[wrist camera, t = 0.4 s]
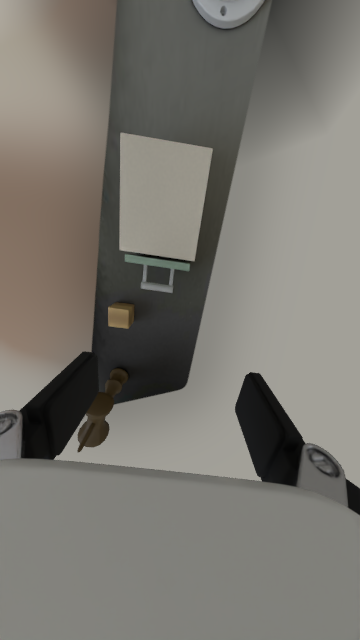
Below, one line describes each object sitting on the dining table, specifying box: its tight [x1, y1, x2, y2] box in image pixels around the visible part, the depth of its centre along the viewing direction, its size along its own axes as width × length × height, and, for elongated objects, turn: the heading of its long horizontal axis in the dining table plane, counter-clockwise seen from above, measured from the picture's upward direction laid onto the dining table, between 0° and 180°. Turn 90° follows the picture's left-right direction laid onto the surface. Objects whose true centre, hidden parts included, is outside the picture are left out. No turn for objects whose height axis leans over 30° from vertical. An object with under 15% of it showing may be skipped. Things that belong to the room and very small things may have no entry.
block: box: [108, 302, 134, 329], centre depth 38 cm, size 4×4×4 cm
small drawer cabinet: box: [120, 133, 213, 261], centre depth 29 cm, size 14×12×10 cm
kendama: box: [78, 368, 128, 452], centre depth 38 cm, size 6×10×20 cm, turn 163°
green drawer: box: [125, 254, 190, 293], centre depth 30 cm, size 18×11×8 cm, turn 172°
